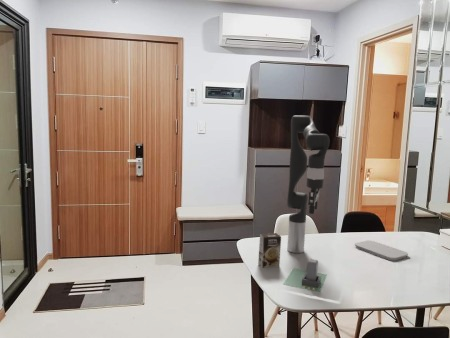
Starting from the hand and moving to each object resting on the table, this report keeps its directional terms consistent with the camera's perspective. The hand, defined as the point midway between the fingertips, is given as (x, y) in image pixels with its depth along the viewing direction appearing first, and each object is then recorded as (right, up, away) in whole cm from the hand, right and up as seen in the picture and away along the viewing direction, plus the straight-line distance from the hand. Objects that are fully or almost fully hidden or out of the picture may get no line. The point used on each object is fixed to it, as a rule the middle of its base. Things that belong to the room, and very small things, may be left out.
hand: (313, 211), depth 169 cm
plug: (-3, -31, -9) cm, 32 cm away
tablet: (+48, -28, +38) cm, 67 cm away
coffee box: (-19, -29, +11) cm, 37 cm away
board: (-5, -31, -5) cm, 32 cm away
